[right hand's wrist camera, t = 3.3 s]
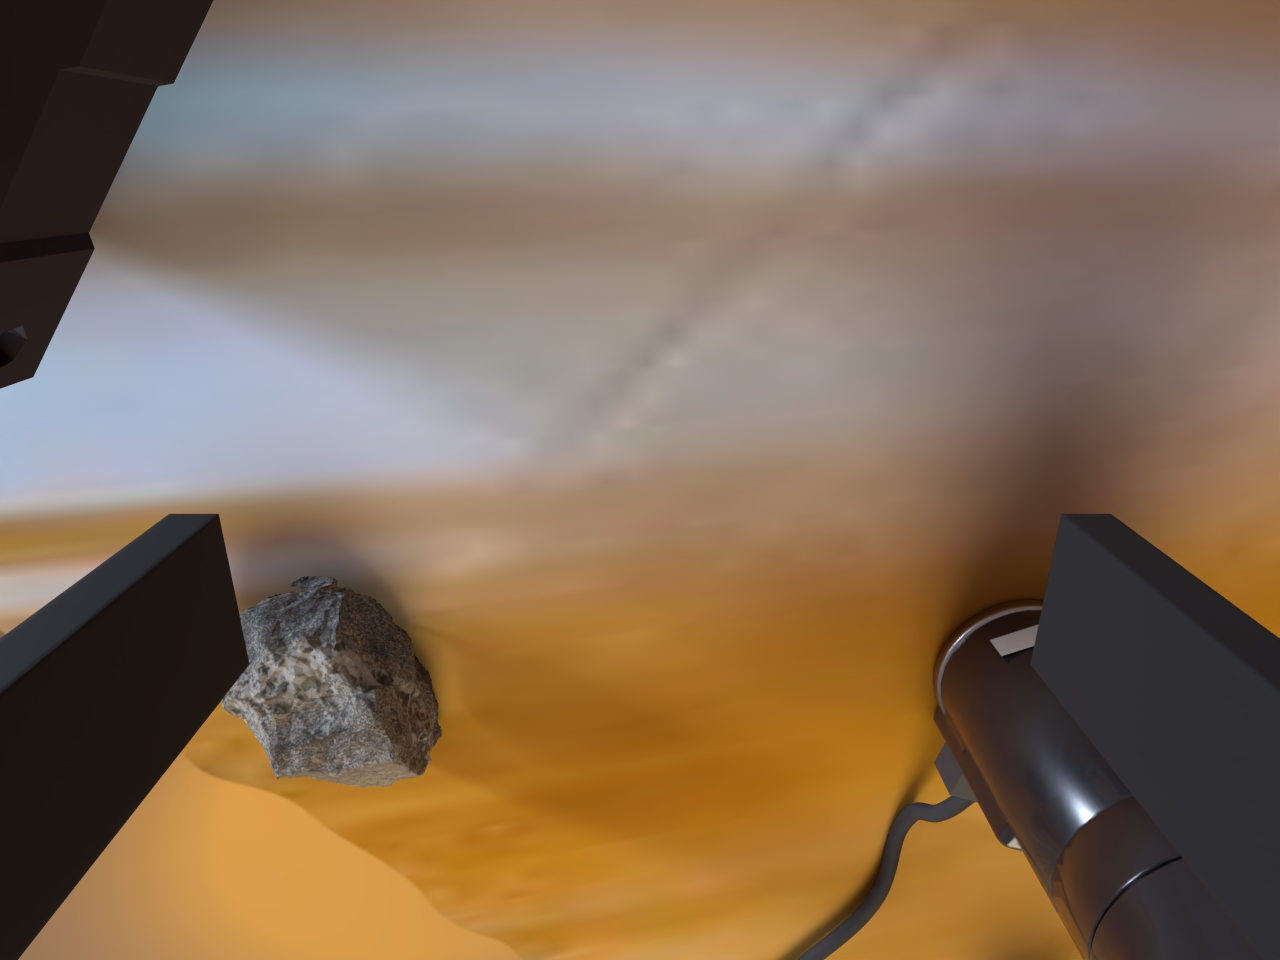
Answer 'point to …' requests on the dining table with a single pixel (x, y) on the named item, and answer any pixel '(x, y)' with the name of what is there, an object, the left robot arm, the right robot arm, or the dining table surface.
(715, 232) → the dining table surface
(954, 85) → the dining table surface
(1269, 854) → the right robot arm
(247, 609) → the rock
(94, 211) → the mechanical component
